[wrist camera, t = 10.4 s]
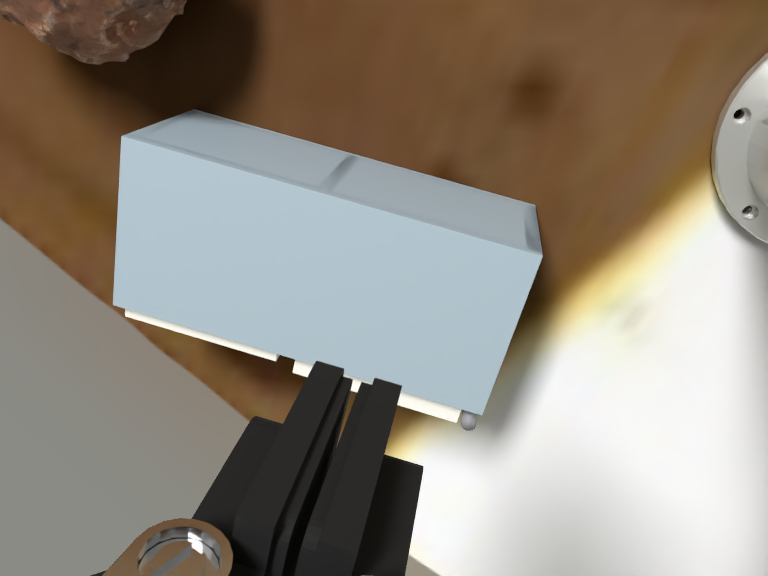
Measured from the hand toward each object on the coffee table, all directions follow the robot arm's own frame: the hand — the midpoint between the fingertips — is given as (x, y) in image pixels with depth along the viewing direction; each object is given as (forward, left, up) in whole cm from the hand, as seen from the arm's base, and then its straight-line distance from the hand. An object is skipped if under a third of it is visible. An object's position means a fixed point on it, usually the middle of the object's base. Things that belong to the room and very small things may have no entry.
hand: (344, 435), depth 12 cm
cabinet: (+5, +8, -29) cm, 30 cm away
